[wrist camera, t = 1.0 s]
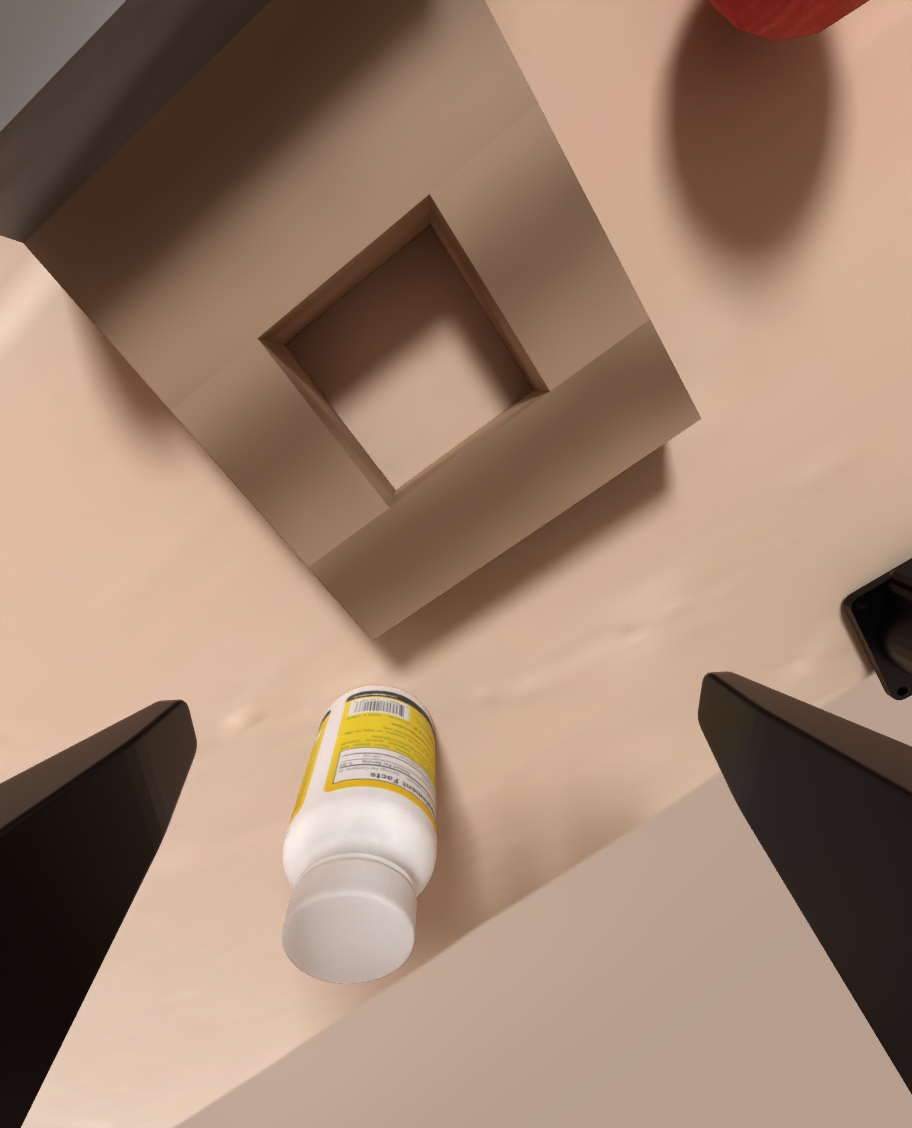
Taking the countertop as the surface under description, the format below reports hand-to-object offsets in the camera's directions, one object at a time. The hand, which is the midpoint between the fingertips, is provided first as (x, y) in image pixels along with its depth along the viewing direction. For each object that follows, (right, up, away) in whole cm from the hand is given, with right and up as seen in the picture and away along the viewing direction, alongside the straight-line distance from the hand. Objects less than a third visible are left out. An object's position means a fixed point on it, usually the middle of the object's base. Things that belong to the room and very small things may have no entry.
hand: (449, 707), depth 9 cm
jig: (-3, +11, +10) cm, 15 cm away
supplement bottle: (-4, -5, +16) cm, 17 cm away
